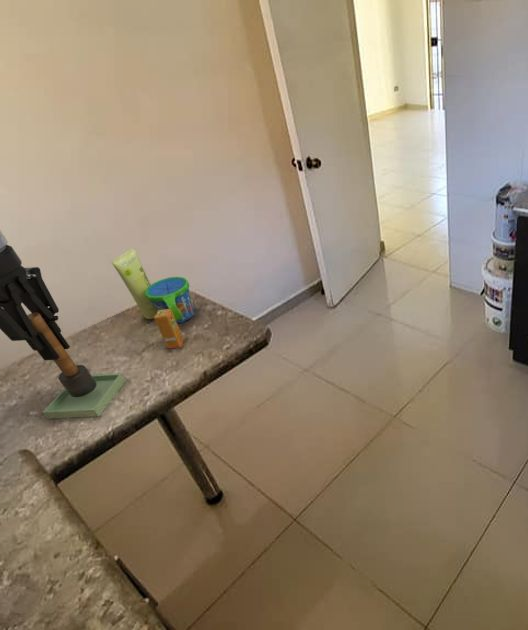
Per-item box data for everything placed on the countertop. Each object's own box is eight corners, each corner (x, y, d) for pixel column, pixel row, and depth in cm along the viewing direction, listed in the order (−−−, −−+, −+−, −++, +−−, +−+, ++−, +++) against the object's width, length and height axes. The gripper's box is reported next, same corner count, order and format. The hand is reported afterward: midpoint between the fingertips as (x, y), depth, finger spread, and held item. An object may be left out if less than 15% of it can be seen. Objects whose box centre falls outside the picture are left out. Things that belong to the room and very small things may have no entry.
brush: (65, 398, 94) (8, 324, 82) (79, 381, 98) (27, 309, 86) (88, 396, 94) (34, 323, 82) (101, 380, 98) (52, 308, 86)
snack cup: (161, 307, 126) (146, 277, 120) (200, 298, 129) (187, 268, 123) (158, 338, 114) (142, 306, 108) (201, 326, 117) (187, 295, 111)
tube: (163, 317, 122) (133, 256, 110) (143, 323, 120) (110, 261, 109) (163, 307, 126) (134, 247, 115) (144, 312, 124) (112, 252, 113)
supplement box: (182, 347, 111) (166, 315, 105) (168, 349, 110) (151, 317, 104) (185, 339, 113) (170, 308, 107) (171, 341, 113) (156, 309, 107)
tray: (47, 418, 93) (42, 412, 92) (80, 381, 102) (75, 375, 101) (99, 416, 93) (94, 409, 91) (126, 379, 102) (122, 373, 101)
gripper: (-33, 273, 69) (49, 379, 83) (36, 231, 82) (97, 329, 96) (-79, 276, 69) (11, 381, 83) (-3, 233, 82) (64, 331, 96)
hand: (57, 353), depth 90 cm, fingers closed on brush, 3 cm apart
